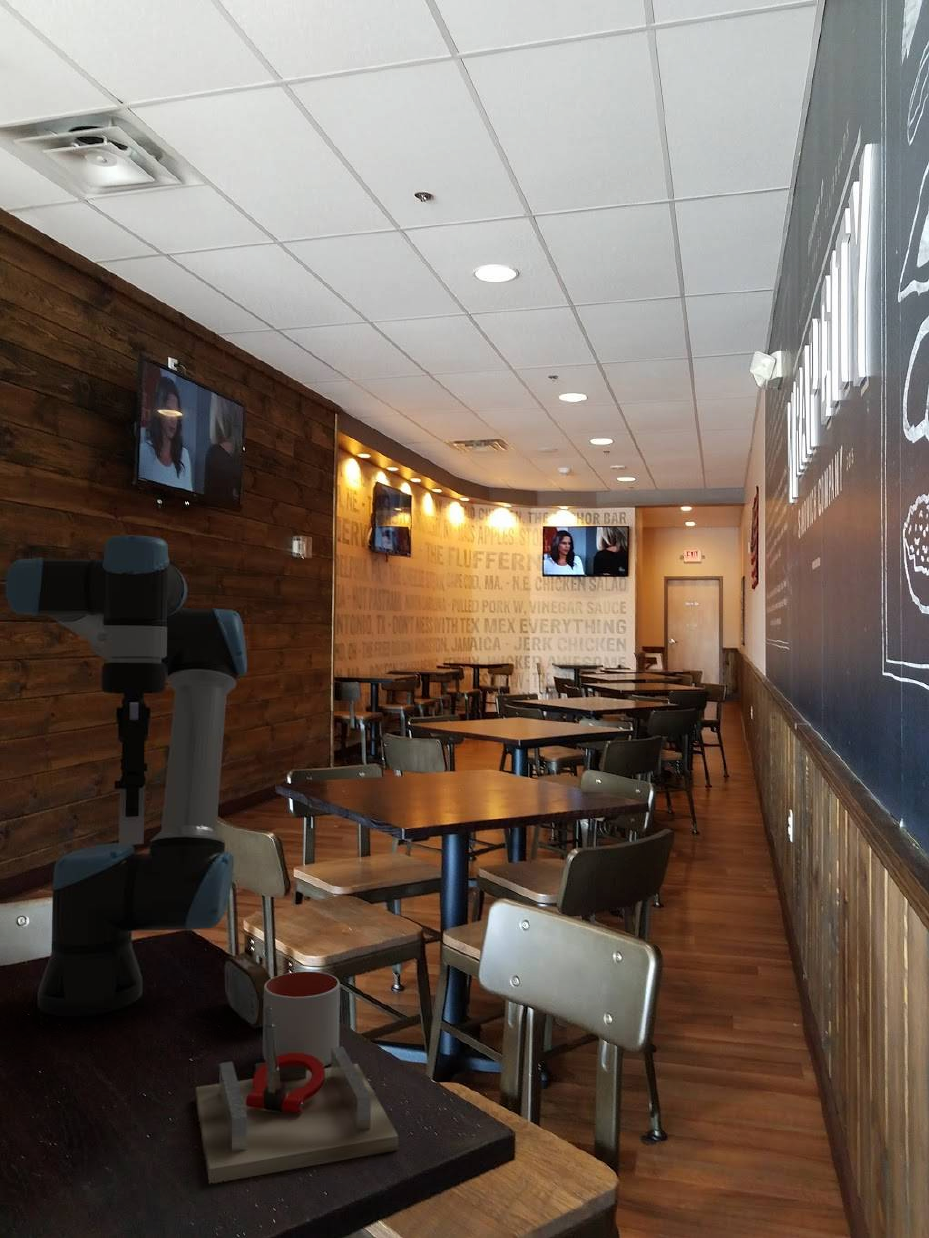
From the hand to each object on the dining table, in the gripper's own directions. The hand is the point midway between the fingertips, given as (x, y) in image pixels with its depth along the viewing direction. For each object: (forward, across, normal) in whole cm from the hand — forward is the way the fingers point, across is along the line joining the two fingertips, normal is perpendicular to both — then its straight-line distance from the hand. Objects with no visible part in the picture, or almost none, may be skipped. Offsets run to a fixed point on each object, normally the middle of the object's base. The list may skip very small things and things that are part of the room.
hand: (130, 833), depth 115 cm
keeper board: (+32, +14, +18) cm, 39 cm away
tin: (+32, -20, +17) cm, 41 cm away
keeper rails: (+30, +12, +18) cm, 37 cm away
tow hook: (+29, +10, +18) cm, 36 cm away
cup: (+32, -3, +22) cm, 39 cm away
